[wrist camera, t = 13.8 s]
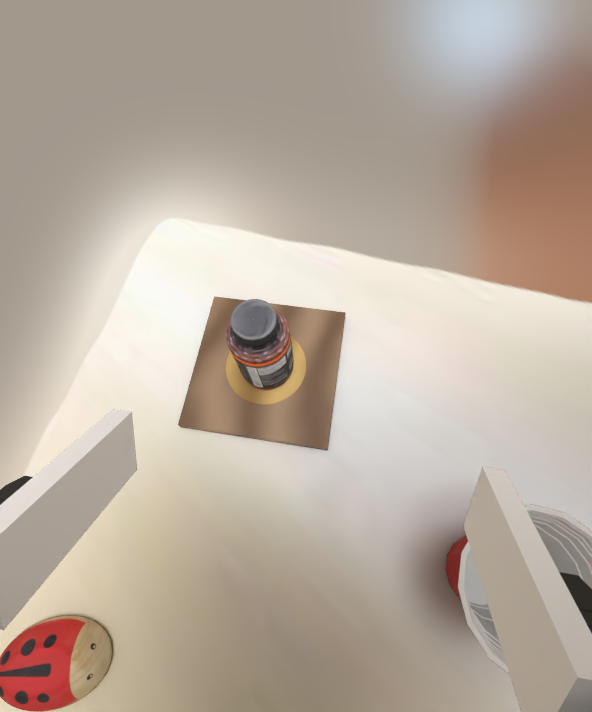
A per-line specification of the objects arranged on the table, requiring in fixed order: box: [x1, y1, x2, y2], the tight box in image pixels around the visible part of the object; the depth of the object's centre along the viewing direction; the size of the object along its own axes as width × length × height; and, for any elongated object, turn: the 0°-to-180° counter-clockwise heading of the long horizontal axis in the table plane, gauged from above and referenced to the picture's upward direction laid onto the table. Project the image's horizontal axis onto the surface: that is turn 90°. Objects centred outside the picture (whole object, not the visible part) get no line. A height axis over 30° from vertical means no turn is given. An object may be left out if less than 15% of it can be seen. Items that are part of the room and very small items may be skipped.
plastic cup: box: [446, 505, 592, 675], centre depth 31 cm, size 11×11×12 cm
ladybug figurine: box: [0, 616, 112, 711], centre depth 34 cm, size 7×10×4 cm
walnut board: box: [178, 297, 345, 450], centre depth 45 cm, size 16×16×1 cm
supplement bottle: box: [226, 299, 294, 390], centre depth 39 cm, size 6×6×11 cm
